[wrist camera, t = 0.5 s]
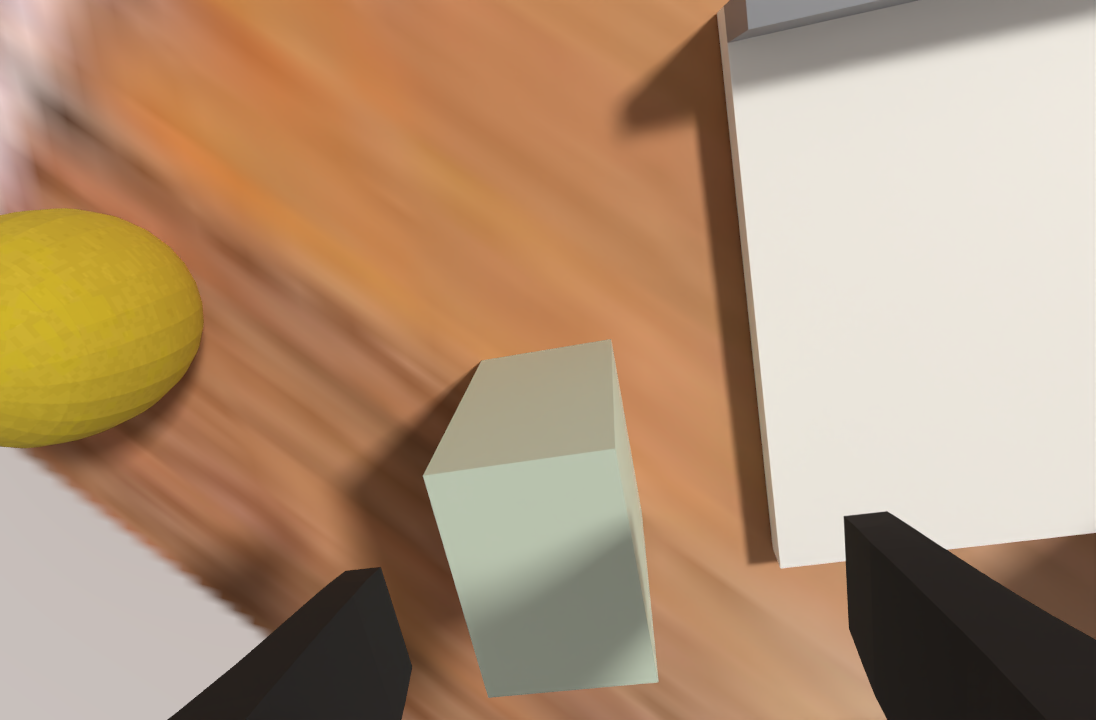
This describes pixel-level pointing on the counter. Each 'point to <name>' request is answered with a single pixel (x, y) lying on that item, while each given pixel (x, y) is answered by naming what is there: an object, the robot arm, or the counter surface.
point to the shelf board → (918, 263)
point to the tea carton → (546, 524)
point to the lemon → (88, 324)
